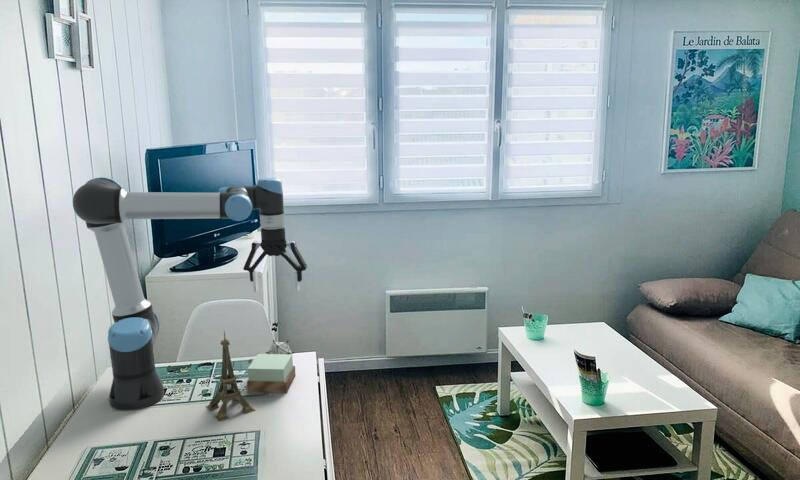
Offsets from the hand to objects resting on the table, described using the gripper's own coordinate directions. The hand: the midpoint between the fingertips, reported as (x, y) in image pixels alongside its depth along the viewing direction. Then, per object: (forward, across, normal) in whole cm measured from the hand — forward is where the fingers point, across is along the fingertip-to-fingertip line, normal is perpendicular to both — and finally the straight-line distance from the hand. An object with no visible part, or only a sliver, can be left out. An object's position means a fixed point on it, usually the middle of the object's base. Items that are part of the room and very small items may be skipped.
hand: (276, 291), depth 211 cm
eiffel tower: (+26, -7, -31) cm, 41 cm away
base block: (+26, +1, -15) cm, 30 cm away
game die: (+26, 0, 0) cm, 26 cm away
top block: (+22, +1, -15) cm, 26 cm away
